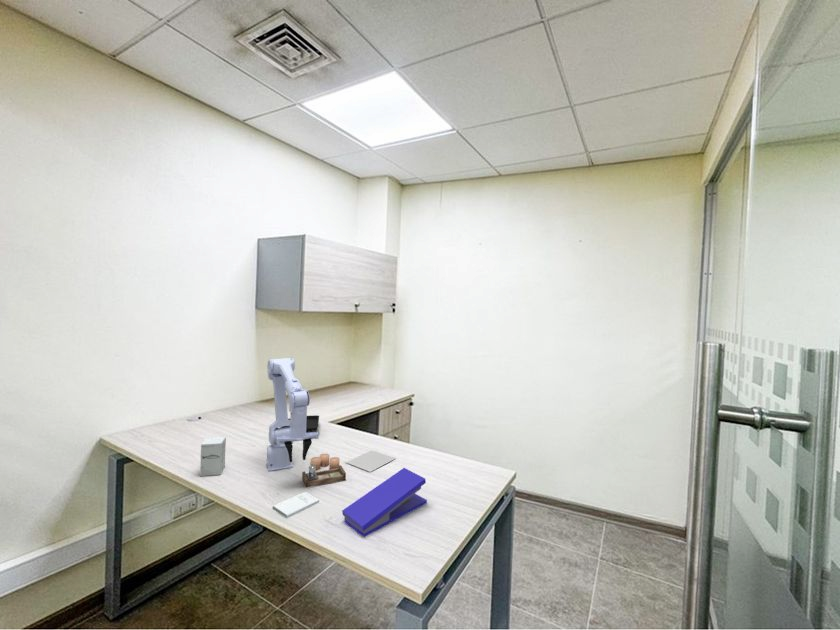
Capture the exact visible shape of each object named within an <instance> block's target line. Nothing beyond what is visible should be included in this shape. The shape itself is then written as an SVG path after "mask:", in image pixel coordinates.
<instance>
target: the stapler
mask: <svg viewBox="0 0 840 630" xmlns="http://www.w3.org/2000/svg"><path fill="white" fill-rule="evenodd" d="M426 481H427V480H426V478H425V477H423V476H421V475H420V474H417V473H415V472H413V471H411V470H410V469H407V468H405V467H402V468H401V469H400V470H398V471H397V472H396V473H394V474H392V475H391V476H390V477H388V478H387V479H385V481H383V482H382V483H380V484H378V485H377V486H375V487H374V488H373V489H371V490H370V491H368V492H367V493H365V494H364V495H362V496H361V497H360V498H358V499H356V501H354V502H352V503H351V504H350V505H348V506H347V507H345V508H344V509H342V510H341V511H342V516H343V517H344V521H343V522H344V524H346V525H348V526H349V527H350V528H352V529H353V530H354V531H355V532H357V533H358V534H359V535H360V536H362V537H366V536H369V535H371V534H372V533H374V532H375V531H377V530H380V529H381V528H384V527H385V526H386V525H389V524H391V523H393V522H394V521H396V520H398V519H400V518H402V517H403V516H406V515H407V514H409V513H410V512H413V511H414V510H416V509H418V508H420V507H421V506H424V505H425V504H427V503H428V499H426V498H424V497H422V496H420V495H419V494H416V493H417V492H419V491H420V490H421V489H422V486H424V485H425V484H426Z"/></svg>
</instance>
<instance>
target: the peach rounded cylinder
mask: <svg viewBox="0 0 840 630" xmlns="http://www.w3.org/2000/svg"><path fill="white" fill-rule="evenodd" d="M318 457H320V458H321V467H320V468H326V467H329V460H330V454H329V453H321V454H319V456H318Z"/></svg>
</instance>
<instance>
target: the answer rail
mask: <svg viewBox="0 0 840 630" xmlns="http://www.w3.org/2000/svg"><path fill="white" fill-rule="evenodd" d="M301 473H302V474H301V480H302V482H303V486H304V488H305V489H307V488H313V487H318V486H322V485H324V486H325V485H328V484H333V483H339V482H344V481H346V480H347V479H346V478H347V472H346V471H345V469H344V468H343V466H342V465H340V464H339V468H337V469H331V470H329V469H327V470H321V471H320V470H318V471H315V473H316V475H317V477H318V479H317V480H312V481H308V477H307V475H306V471H305V470H304V471H302V472H301Z"/></svg>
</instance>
